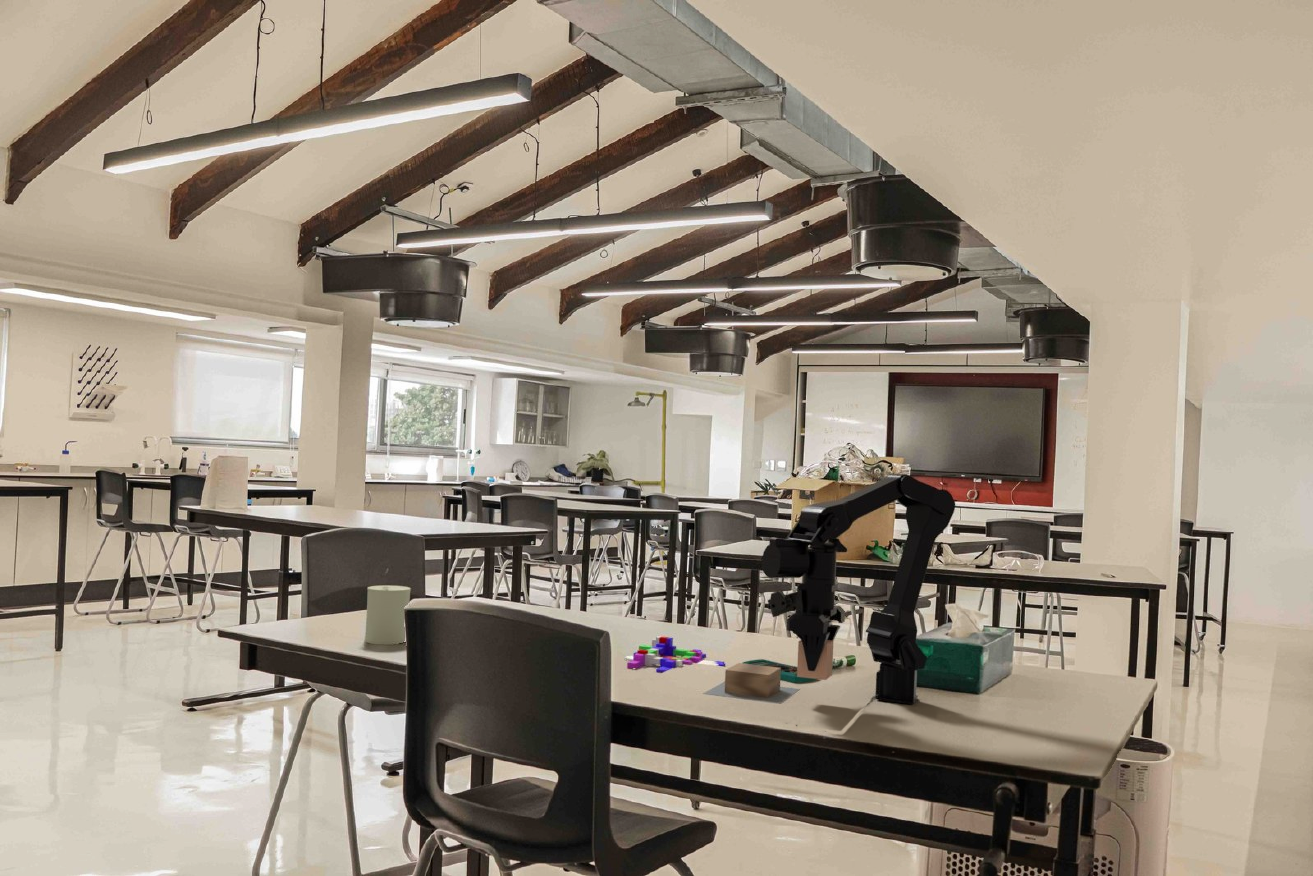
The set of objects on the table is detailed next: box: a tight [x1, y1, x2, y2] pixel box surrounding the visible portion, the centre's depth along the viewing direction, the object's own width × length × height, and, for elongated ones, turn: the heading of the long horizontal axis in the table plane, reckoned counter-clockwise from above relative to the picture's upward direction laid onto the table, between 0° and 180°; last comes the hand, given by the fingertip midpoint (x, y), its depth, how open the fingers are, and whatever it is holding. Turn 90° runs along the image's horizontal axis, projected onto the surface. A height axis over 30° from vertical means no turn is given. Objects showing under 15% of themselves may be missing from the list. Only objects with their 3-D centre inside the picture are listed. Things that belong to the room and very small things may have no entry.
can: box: [363, 584, 412, 646], centre depth 223 cm, size 9×9×12 cm
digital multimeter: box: [742, 658, 818, 684], centre depth 202 cm, size 7×15×3 cm, turn 44°
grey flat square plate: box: [702, 681, 801, 704], centre depth 186 cm, size 14×14×1 cm
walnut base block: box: [724, 662, 781, 698], centre depth 186 cm, size 8×8×4 cm
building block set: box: [624, 635, 726, 673], centre depth 215 cm, size 25×20×4 cm
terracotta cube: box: [796, 639, 834, 681], centre depth 179 cm, size 5×5×6 cm
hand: (815, 668), depth 178 cm, fingers closed on terracotta cube, 5 cm apart
